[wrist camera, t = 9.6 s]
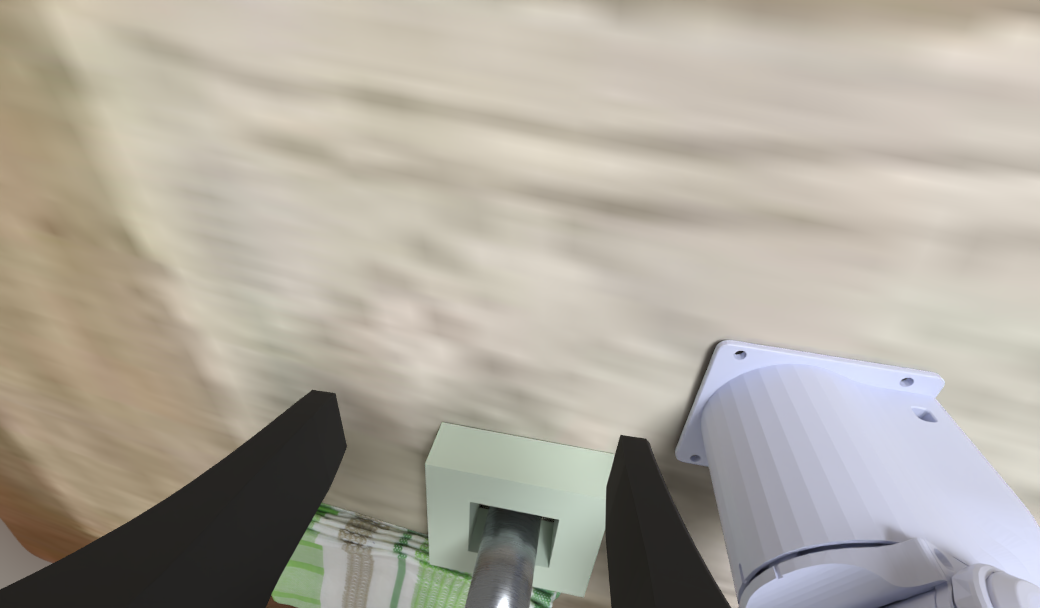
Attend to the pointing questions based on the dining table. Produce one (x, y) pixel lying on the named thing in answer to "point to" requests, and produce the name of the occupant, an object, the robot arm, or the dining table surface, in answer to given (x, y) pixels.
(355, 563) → the dish towel
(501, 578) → the peg
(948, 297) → the dining table surface
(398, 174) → the dining table surface
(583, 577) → the socket
